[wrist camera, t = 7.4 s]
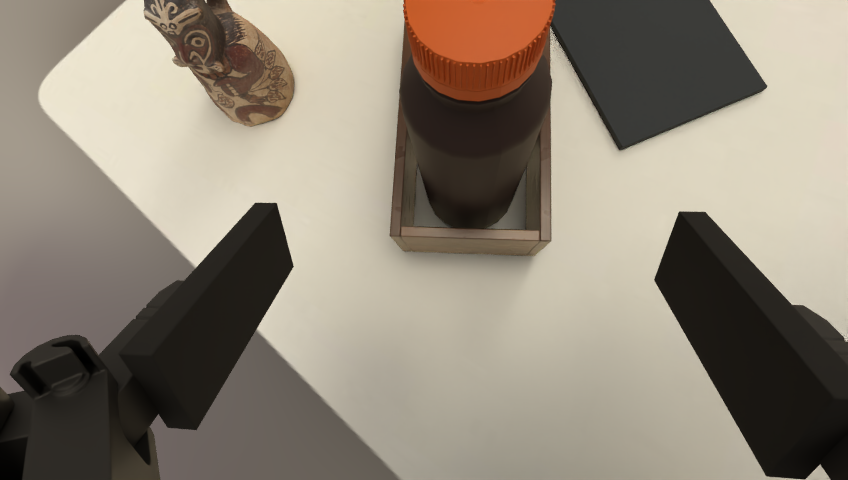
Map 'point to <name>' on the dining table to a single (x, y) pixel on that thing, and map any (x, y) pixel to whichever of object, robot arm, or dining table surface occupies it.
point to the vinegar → (475, 100)
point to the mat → (653, 62)
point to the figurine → (226, 57)
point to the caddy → (472, 238)
